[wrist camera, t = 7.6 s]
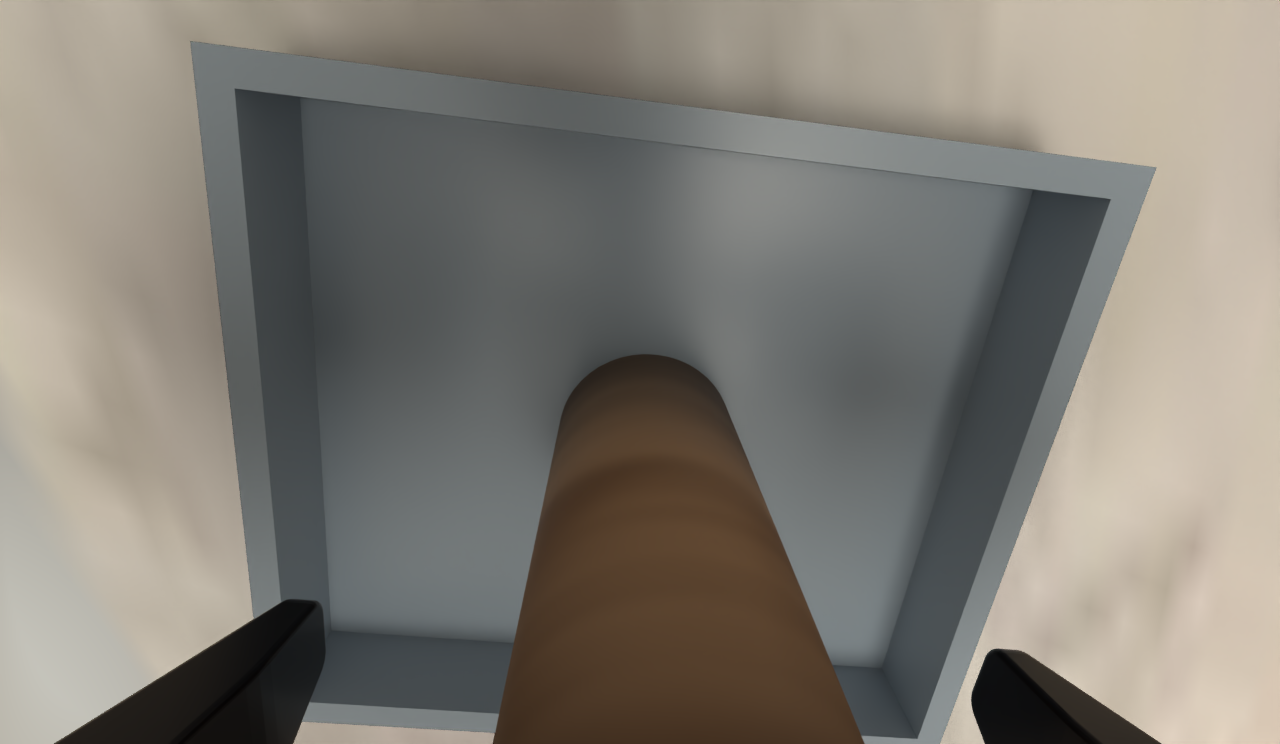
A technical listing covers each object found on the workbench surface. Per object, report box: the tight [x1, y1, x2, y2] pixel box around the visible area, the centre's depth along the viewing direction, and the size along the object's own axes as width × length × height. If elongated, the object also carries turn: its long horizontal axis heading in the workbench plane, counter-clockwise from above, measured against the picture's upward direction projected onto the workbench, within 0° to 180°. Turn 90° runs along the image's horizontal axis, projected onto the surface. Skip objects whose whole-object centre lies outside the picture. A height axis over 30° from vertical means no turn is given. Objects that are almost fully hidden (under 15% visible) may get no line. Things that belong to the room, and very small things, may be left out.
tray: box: [190, 41, 1156, 744], centre depth 14 cm, size 14×16×3 cm
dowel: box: [493, 354, 865, 744], centre depth 10 cm, size 4×4×10 cm
